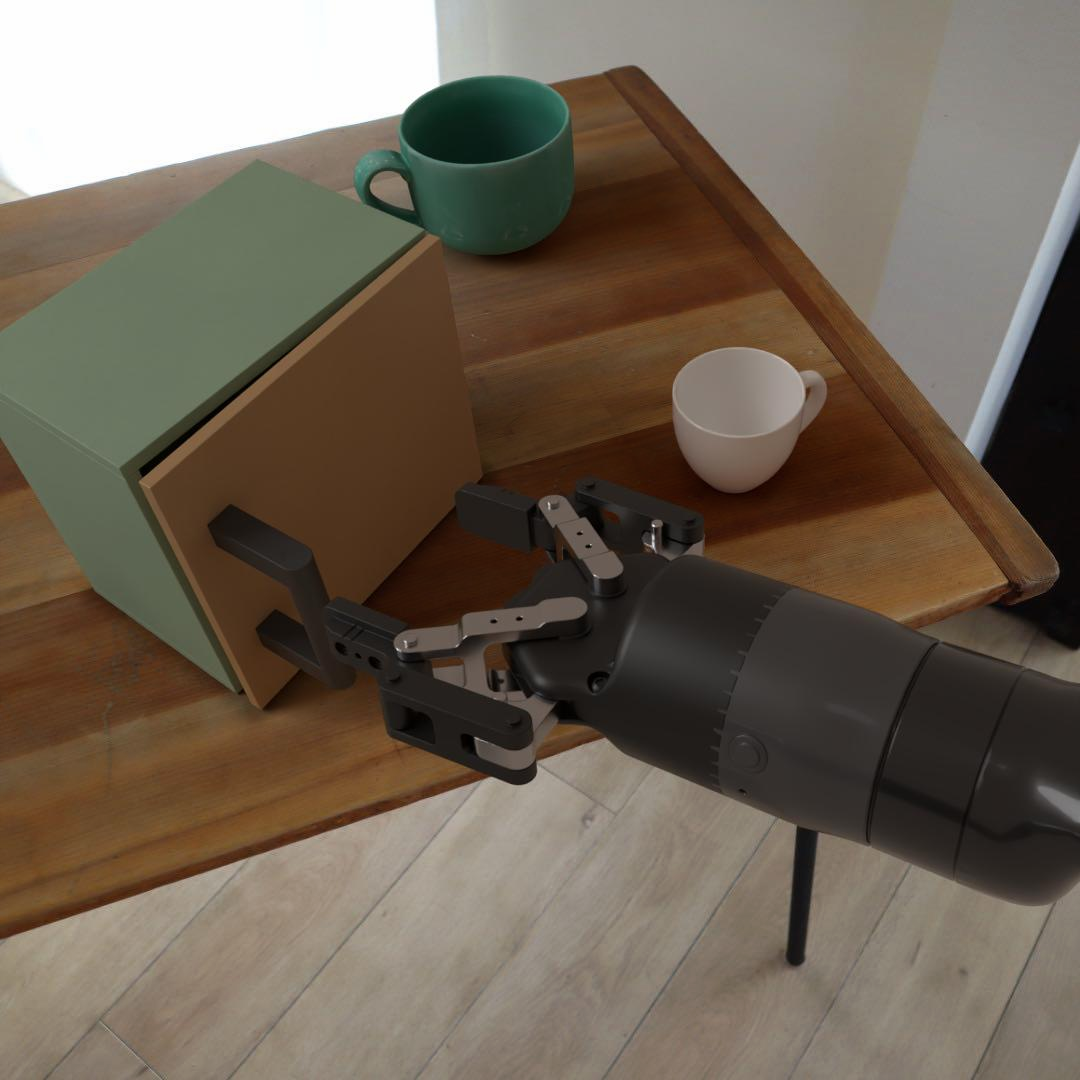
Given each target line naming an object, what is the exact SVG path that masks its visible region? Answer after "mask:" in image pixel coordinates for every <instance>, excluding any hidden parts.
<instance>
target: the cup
mask: <svg viewBox="0 0 1080 1080" xmlns="http://www.w3.org/2000/svg"><path fill="white" fill-rule="evenodd" d="M827 386H828V385H827V383H826V380H825V379H824V377H823V376H822V375H821V374H820V373H819V372H818V371H816V370H812V369H809V370H808V369H807V370H801V371H799V372H798V370H797V369H796V368H795V367H794V366H793V365H792V364H791V363H789V362H788V361H787V360H786V359H784V358H782V357H781V356H779V355H776V354H775V353H771V352H769V351H766V350H762V349H758V348H753V347H744V346H743V347H742V346H738V347H737V346H733V347H722V348H718V349H714V350H710V351H707V352H703V353H702V354H699V355H698V356H696V357H694V358H693V359H691V360H689V361H688V362H687V363H686V364H685V365H683V367H682V368H681V369H680V370H679V371H678V373H677V375H676V376H675V379H674V381H673V384H672V390H671V414H672V424H673V431H674V436H675V439H676V442H677V445H678V446H679V450H680V452H681V454H682V456H683V458H684V460H685V461H686V463H687V464H688V466H689V467H690V469H691V470H692V471H693V472H694V473H695V474H696V476H698V477H699V478H700V479H701V480H702V481H704V482H705V483H706V484H707V485H708V486H710V487H712V489H715V490H717V491H718V492H719V491H720V492H722V493H727V494H743V493H747V492H750V491H752V490H754V489H756V488H758V487H759V486H761V485H763V484H764V483H766V482H767V481H769V480H770V479H771V478H772V477H774V476H775V475H776V474H777V473H778V472H779V471H780V469H781V468H782V467H783V466H784V465H785V463H786V462H787V460H788V459H789V458H790V456H791V454H792V453H793V450H794V449H795V446H796V444H797V441H798V439H799V436H800V435H801V434H802V433H803V432H804V431H805V430H806V429H807V428H808V426H809V425H810V424H811V423H812V422H813V421H814V420H815V419H816V418H817V416H818V415H819V414H820V412H821V411H822V409H823V407H824V405H825V402H826V400H827V397H828V396H827V395H828V387H827ZM808 388H809V394H808V397H807V396H806V395H807V390H806V389H808ZM806 397H807V398H806Z"/></svg>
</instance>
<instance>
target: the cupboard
mask: <svg viewBox="0 0 1080 1080" xmlns="http://www.w3.org/2000/svg"><path fill="white" fill-rule="evenodd" d="M426 236H427V234H426V231H425V229H423V228H421V227H418V226H416V225H413V224H411V223H409V222H406V221H404V220H401V219H399V218H397V217H394V216H392V215H389V214H387V213H385V212H382V211H380V210H378V209H375V208H373V207H370V206H368V205H366V204H363V203H362V201H358V200H356V199H353V198H351V197H349V196H346V195H344V194H342V193H339V192H338V191H334V190H332V189H330V188H327V187H325V186H323V185H320V184H317V183H315V182H314V181H310V180H308V179H306V178H304V177H301V176H298V175H296V174H294V173H291V172H290V171H287V170H284V169H282V168H280V167H277V166H274V165H273V164H270V163H267V162H266V161H263V160H260V159H257V158H256V159H255V160H253V161H252V162H250V163H249V164H248V165H246V166H245V167H243V168H241V169H240V170H239V171H237V172H236V173H234V174H233V175H231V176H229V177H228V178H227V179H225V180H224V181H222V182H221V183H219V184H218V185H216V186H215V187H214V188H212V189H210V190H209V191H207V192H206V193H204V194H203V195H202V196H201V195H200V197H198V198H197V199H195V200H194V201H193V202H191V203H189V204H188V205H186V206H185V207H184V208H182V209H181V210H179V211H178V212H176V213H175V214H173V215H172V216H170V217H169V218H167V219H165V220H164V221H162V222H161V223H160V224H158V225H157V226H155V227H154V228H152V229H151V230H149V231H148V232H146V233H145V234H143V235H141V237H139V238H137V239H135V241H133V242H131V243H130V244H128V245H127V246H125V247H124V248H123V249H120V250H119V251H118V252H116V253H114V255H112V256H111V257H109V258H107V259H106V260H105V261H103V262H102V263H100V264H99V265H97V266H95V267H94V268H93V269H91V270H89V271H88V272H87V273H85V274H84V275H82V276H81V277H78V279H76V280H75V281H73V282H72V283H70V284H68V285H67V286H66V287H64V288H63V289H61V290H60V291H59V292H57V293H55V294H54V295H52V296H51V297H49V298H48V299H46V300H45V301H43V302H42V303H41V304H39V305H38V306H36V307H35V308H33V309H32V310H30V311H29V312H27V313H25V314H24V315H23V316H21V317H20V318H18V319H17V320H15V321H14V322H12V323H11V324H9V325H8V326H7V327H4V328H3V329H2V330H1V331H0V440H1V441H2V442H3V444H4V446H5V447H6V449H7V451H8V453H9V454H10V455H11V457H12V459H13V460H14V462H15V463H16V465H17V467H18V468H19V470H20V472H21V474H22V475H23V476H24V478H25V480H26V481H27V483H28V485H29V486H30V488H31V490H32V492H33V493H34V495H35V496H36V498H37V500H38V501H39V502H40V504H41V506H42V507H43V509H44V510H45V512H46V514H47V516H48V518H49V520H51V522H52V524H53V525H54V527H55V529H56V530H57V532H58V533H59V535H60V537H61V538H62V540H63V541H64V544H65V545H66V546H67V548H68V550H69V552H70V553H71V554H72V556H73V558H74V559H75V561H76V563H77V564H78V566H79V568H80V569H81V571H82V573H83V574H84V577H86V579H87V581H88V582H89V584H90V586H91V587H92V589H93V590H94V592H95V593H97V594H98V595H99V596H101V597H102V598H103V599H105V600H107V602H108V603H111V605H113V606H114V607H116V608H117V609H118V610H120V611H122V612H123V613H124V614H126V615H127V616H128V617H130V618H131V619H132V620H134V621H135V622H137V623H138V624H139V625H141V626H142V627H143V628H145V630H148V632H151V633H152V634H153V635H154V636H156V637H157V638H159V640H161V641H163V642H164V643H166V644H167V645H168V646H170V647H171V648H172V649H174V650H175V651H177V652H178V653H179V654H180V655H182V656H184V657H185V658H186V659H187V660H189V661H190V662H192V663H193V664H195V665H196V666H197V667H198V668H200V669H201V670H203V671H204V672H205V673H206V674H208V675H210V676H211V677H212V678H213V679H214V680H217V681H218V682H219V683H220V684H222V685H223V686H225V687H226V688H228V689H229V690H230V691H231V692H233V693H234V694H236V695H238V694H239V693H240V692H241V691H242V690H244V688H243V686H242V684H241V682H240V680H239V678H238V676H237V674H236V672H235V670H234V669H233V667H232V665H231V663H230V661H229V659H228V657H227V655H226V653H225V651H224V649H223V647H222V645H221V643H220V641H219V639H218V637H217V635H216V633H215V631H214V629H213V627H212V625H211V623H210V621H209V619H208V617H207V615H206V614H205V612H204V610H203V608H202V606H201V604H200V602H199V600H198V598H197V596H196V594H195V592H194V590H193V588H192V586H191V584H190V582H189V580H188V578H187V576H186V574H185V572H184V570H183V568H182V566H181V564H180V562H179V560H178V558H177V557H176V555H175V553H174V551H173V549H172V547H171V545H170V543H169V541H168V539H167V537H166V535H165V533H164V531H163V529H162V527H161V525H160V523H159V521H158V519H157V517H156V515H155V513H154V511H153V509H152V507H151V505H150V503H149V502H148V500H147V498H146V496H145V494H144V492H143V490H142V488H141V486H140V484H139V481H140V480H141V479H142V478H144V477H145V476H146V475H147V474H148V473H150V472H151V471H152V470H153V469H154V468H155V467H157V466H158V465H159V464H160V463H161V462H162V461H164V460H165V459H166V458H167V457H168V456H169V455H171V454H172V453H173V452H174V451H175V450H176V449H178V448H179V447H180V446H181V445H182V444H183V443H185V442H186V441H187V440H188V439H189V438H190V437H192V436H193V435H194V434H195V433H196V432H197V431H199V430H200V429H201V428H202V427H203V426H205V425H206V424H207V423H208V422H209V421H210V420H212V419H213V418H214V417H215V416H216V415H217V414H219V413H220V412H221V411H222V410H223V409H224V408H226V407H227V406H228V405H229V404H230V403H231V402H233V401H234V400H235V399H236V398H237V397H238V396H240V395H241V394H242V393H243V392H244V391H245V390H247V389H248V388H249V387H250V386H251V385H253V384H254V383H255V382H256V381H257V380H258V379H260V378H261V377H262V376H263V375H264V374H265V373H267V372H268V371H269V370H270V369H271V368H272V367H274V366H275V365H276V364H277V363H278V362H279V361H281V360H282V359H283V358H284V357H285V356H286V355H288V354H289V353H290V352H291V351H292V350H293V349H295V348H296V347H297V346H298V345H299V344H301V343H302V342H303V341H304V340H305V339H306V338H308V337H309V336H310V335H311V334H312V333H313V332H315V331H316V330H317V329H318V328H319V327H320V326H322V325H323V324H324V323H325V322H326V321H327V320H329V319H330V318H331V317H332V316H333V315H334V314H336V313H337V312H338V311H339V310H340V309H341V308H343V307H344V306H345V305H346V304H347V303H348V302H350V301H351V300H352V299H353V298H354V297H356V296H357V295H358V294H359V293H360V292H361V291H363V290H364V289H365V288H366V287H367V286H368V285H370V284H371V283H372V282H373V281H374V280H375V279H377V278H378V277H379V276H380V275H381V274H382V273H384V272H385V271H386V270H387V269H388V268H389V267H391V266H392V265H393V264H394V263H395V262H396V261H398V260H399V259H400V258H401V257H402V256H404V255H405V254H406V253H407V252H408V251H409V250H411V249H412V248H413V247H414V246H415V245H416V244H418V243H419V242H420V241H421V240H422V239H423V238H425V237H426Z"/></svg>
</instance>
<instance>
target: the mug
mask: <svg viewBox="0 0 1080 1080" xmlns="http://www.w3.org/2000/svg"><path fill="white" fill-rule="evenodd" d="M398 121H399V122H398V125H397V135H398V142H399V147H400V152H398V151H396V150H394V149H393V150H392V149H386V148H379V149H373V150H371V151H368V152H367V153H366V154H364V155H362V157H361V158H360V159H359V160H358V162H357V163H356V166H355V168H354V172H353V184H354V190H355V192H356V195H357V196H358V199H360V202H361V203H363V204H366V205H368V206H370V207H373V208H375V209H378V210H380V211H382V212H385V213H387V214H389V215H392V216H394V217H397V218H399V219H401V220H404V221H406V222H409V223H411V224H413V225H416V226H418V227H421V228H423V229H425V232H428V234H432V235H434V236H437V237H440V238H441V243H442V245H445V246H447V247H449V248H451V249H453V250H457V251H459V252H463V253H467V254H472V255H480V256H497V255H504V254H510V253H514V252H519V251H521V250H525V249H527V248H529V247H532V246H534V245H536V244H537V243H539V242H541V241H543V240H545V238H547V237H548V236H549V235H551V234H552V233H553V232H554V231H555V230H556V229H557V228H558V227H559V226H560V224H561V223H562V222H563V220H564V219H565V217H566V216H567V214H568V211H569V209H570V206H571V204H572V200H573V195H574V190H575V152H574V138H573V137H574V135H573V125H572V115H571V109H570V106H569V103H568V102H567V101H566V99H565V97H564V96H562V94H561V93H559V92H558V91H557V90H556V89H554V88H553V87H551V86H550V85H548V84H545V83H543V82H540V81H537V80H536V79H532V78H528V77H523V76H517V75H505V74H504V75H503V74H497V75H496V74H494V75H493V74H491V75H478V76H471V77H465V78H460V79H457V80H453V81H449V82H447V83H444V84H441V85H439V86H437V87H434V88H432V89H431V90H428V91H427V92H425V93H423V94H421V95H420V96H418V97H417V98H416V99H415V100H414V101H412V102H411V103H410V104H409V105H408V107H406V108H405V110H404V112H402V114H401V117H400V119H399V120H398ZM383 172H393V173H396V174H399V176H400V177H401V179H403V181H405V182H406V184H407V189H408V192H409V196H410V201H411V204H412V207H413V210H412V209H409V208H403V207H399V206H396V205H393V204H390V203H388V202H386V201H384V200H383V199H381V198H379V197H377V195H375V194H374V193H373V192H372V191H371V190H372V189H371V183H372V181H373V179H374V177H376V176H377V175H378V174H380V173H383Z"/></svg>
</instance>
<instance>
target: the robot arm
mask: <svg viewBox="0 0 1080 1080" xmlns="http://www.w3.org/2000/svg"><path fill="white" fill-rule="evenodd" d="M573 487H574V492H572V493H570V494H568V495H566V496H562V495H559V494H549V495H546V496H544V497H542V498H541V499H538V498H535V497H532V496H529V495H526V494H522V493H519V492H516V491H513V490H509V489H505V488H503V487H500V486H496V485H489V484H478V483H472V482H467V483H466V484H465V485H463V486H462V487H461V488H460V489H459V490H458V491H456V493H455V503H456V505H455V509H456V519H457V523H458V525H459V527H460V528H461V530H462V531H464V532H466V534H467V533H468V534H470V535H473V536H476V537H479V538H481V539H485V540H488V541H490V542H493V543H496V544H499V545H503V546H506V547H508V548H511V549H515V550H517V551H520V552H523V553H526V554H529V555H532V554H533V553H534V552H535V551H536V550H537V549H538V548H541V552H542V555H543V556H544V558H545V559H546V562H545V563H544V564H543V565H542V566H541V567H540V568H539V569H538V570H537V571H536V572H535V574H534V575H533V578H532V580H531V582H530V583H529V585H528V586H527V587H526V588H524V589H522V590H520V591H518V592H517V593H516V594H514V595H513V596H511V597H510V598H509V599H508V600H507V602H505V604H504V605H502V606H501V608H500V609H493V610H481V611H474V612H467V613H465V614H464V615H461V617H460V618H459V621H458V622H457V623H455V624H451V625H444V626H442V625H441V626H432V627H431V626H430V627H423V628H412V629H411V627H410V624H409V623H408V622H406V621H402V620H401V619H397V618H395V617H393V616H390V615H388V614H386V613H383V612H380V611H378V610H375V609H372V608H370V607H368V606H365V605H363V604H361V605H360V604H357V603H355V602H352V601H350V600H347V599H345V598H342V597H335V598H334V599H332V600H331V601H330V602H329V603H328V604H327V605H326V606H324V607H323V608H322V610H321V613H322V617H323V622H324V626H325V630H326V634H327V638H328V642H329V646H330V650H331V653H332V654H333V655H334V657H335V658H336V659H337V660H338V661H341V662H343V663H345V664H348V665H349V664H350V665H351V666H352V667H355V669H358V670H359V671H362V672H364V673H366V674H369V675H371V676H373V677H375V683H376V688H377V693H378V698H379V703H380V708H381V712H382V717H383V721H384V722H383V723H384V727H385V732H386V734H387V736H388V737H390V738H391V739H393V740H396V741H398V742H401V743H404V744H406V745H409V746H411V747H413V748H417V749H418V750H422V751H424V752H426V753H428V754H431V755H435V756H437V757H438V758H439V757H440V758H442V759H445V760H448V761H449V762H453V763H455V764H458V765H460V766H463V767H465V768H468V769H471V770H473V771H476V772H478V773H481V774H484V775H486V776H488V777H491V778H494V779H496V780H498V781H501V782H503V783H507V784H509V785H512V786H525V785H528V784H530V783H531V782H533V780H534V779H536V777H537V775H538V764H537V751H538V750H539V748H540V747H541V745H542V744H543V743H544V742H545V741H546V740H547V738H548V736H549V735H550V733H551V732H552V730H553V729H554V728H555V726H556V725H557V726H581V727H586V728H590V729H592V730H594V731H596V732H597V733H599V734H600V735H601V736H602V737H604V738H605V739H606V740H608V741H609V742H610V743H611V744H612V745H613V746H614V747H615V748H616V749H617V750H618V751H620V752H621V753H622V754H624V755H626V756H627V757H631V758H632V759H635V760H637V761H640V762H641V763H645V764H647V765H649V766H651V767H654V768H656V769H659V770H661V771H664V772H666V773H669V774H671V775H674V776H676V777H678V778H681V779H683V780H686V781H688V782H691V783H693V784H695V785H697V786H700V787H702V788H704V789H707V790H709V791H712V792H714V793H717V794H719V795H722V796H724V797H727V798H729V799H730V800H733V801H736V802H739V803H741V804H744V805H745V806H748V807H750V808H753V809H755V810H757V811H760V812H763V813H765V814H768V815H770V816H772V817H774V818H776V819H780V820H782V821H784V822H786V823H789V824H792V825H795V826H797V827H799V828H802V829H807V830H810V831H813V832H817V833H819V834H824V835H828V836H832V837H837V838H840V839H843V840H846V841H849V842H850V841H851V842H853V843H856V844H858V845H862V846H865V847H867V848H868V847H871V848H872V849H873V850H876V851H879V852H880V853H883V854H885V855H888V856H891V857H893V858H895V859H898V860H900V861H902V862H905V863H907V864H909V865H912V866H915V867H916V868H917V867H918V868H919V869H922V870H924V871H926V872H929V873H932V874H934V875H936V876H940V877H942V878H944V879H947V880H949V881H950V882H951V881H952V882H955V883H956V884H958V885H960V886H963V887H966V888H968V889H970V890H972V891H974V892H977V893H980V894H983V895H986V896H988V897H991V898H993V899H997V900H1000V901H1003V902H1007V903H1010V904H1014V905H1018V906H1023V907H1043V906H1048V905H1052V904H1055V903H1056V902H1059V901H1060V900H1061V899H1063V898H1064V896H1066V895H1068V894H1069V893H1070V892H1071V891H1072V890H1073V889H1074V888H1075V887H1077V885H1078V884H1079V883H1080V682H1074V681H1070V680H1065V679H1061V678H1058V677H1055V676H1053V675H1050V674H1047V673H1045V672H1042V671H1038V670H1035V669H1032V668H1029V667H1026V666H1023V665H1020V664H1017V663H1014V662H1011V661H1007V660H1005V659H1002V658H999V657H995V656H992V655H989V654H985V653H983V652H979V651H976V650H973V649H970V648H968V647H967V648H966V647H963V646H961V645H958V644H954V643H951V642H947V641H941V640H940V639H938V638H936V637H934V636H931V635H928V634H925V633H923V632H921V631H918V630H916V629H913V628H911V627H909V626H907V625H905V624H904V623H901V622H899V621H897V620H896V619H893V618H891V617H889V616H886V615H884V614H881V613H879V612H877V611H875V610H871V609H869V608H866V607H863V606H861V605H857V604H854V603H851V602H847V601H844V600H842V599H839V598H835V597H832V596H830V595H826V594H823V593H820V592H816V591H814V590H810V589H807V588H803V587H801V586H797V585H795V584H790V583H787V582H784V581H781V580H778V579H775V578H771V577H768V576H765V575H762V574H759V573H757V572H752V571H750V570H747V569H743V568H740V567H736V566H733V565H730V564H728V563H725V562H724V563H723V562H721V561H718V560H715V559H712V558H709V557H705V543H706V541H705V540H706V539H705V538H706V534H705V518H704V516H703V514H701V513H700V512H698V511H695V510H691V509H690V508H686V507H683V506H679V505H677V504H674V503H671V502H668V501H665V500H662V499H660V498H657V497H654V496H651V495H648V494H645V493H642V492H640V491H636V490H634V489H631V488H628V487H624V486H622V485H619V484H616V483H613V482H610V481H608V480H604V479H601V478H598V477H594V476H586V477H581V478H580V479H577V481H575V483H574V486H573ZM605 511H607V512H610V513H613V514H615V515H616V516H617V517H618V518H619V522H616V521H613V520H611V519H609V518H605ZM615 552H616V553H619V554H616V553H615ZM493 644H494V645H495V644H501V651H502V655H503V659H504V661H505V663H506V665H507V666H508V669H494V668H491V667H490V666H489V665H488V663H487V659H486V652H485V650H486V649H487V648H488V647H489V646H491V645H493ZM452 658H458V659H460V660H462V662H463V663H461V664H459V665H449V666H439V667H433V663H432V660H441V659H452Z"/></svg>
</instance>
